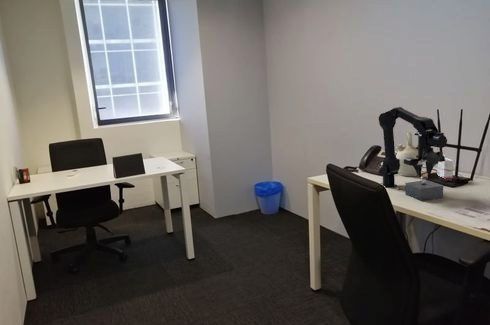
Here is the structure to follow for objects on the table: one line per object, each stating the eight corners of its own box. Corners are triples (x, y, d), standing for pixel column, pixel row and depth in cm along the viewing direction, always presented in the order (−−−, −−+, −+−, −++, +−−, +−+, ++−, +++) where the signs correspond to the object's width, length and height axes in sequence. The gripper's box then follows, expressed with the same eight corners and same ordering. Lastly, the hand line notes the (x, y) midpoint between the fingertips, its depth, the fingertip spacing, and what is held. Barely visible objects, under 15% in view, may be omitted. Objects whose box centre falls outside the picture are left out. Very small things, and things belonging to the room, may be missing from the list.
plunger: (409, 186, 194) (410, 171, 192) (425, 184, 195) (426, 169, 194) (421, 191, 185) (421, 175, 183) (438, 188, 187) (438, 173, 185)
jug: (392, 176, 232) (392, 134, 227) (399, 170, 244) (399, 130, 239) (420, 178, 223) (421, 134, 218) (425, 171, 235) (426, 130, 230)
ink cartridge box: (453, 181, 211) (454, 154, 209) (443, 182, 212) (444, 155, 209) (445, 177, 220) (446, 152, 217) (436, 178, 220) (437, 152, 217)
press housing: (405, 194, 196) (405, 182, 194) (426, 191, 198) (426, 179, 197) (420, 201, 184) (421, 188, 183) (443, 197, 186) (443, 185, 185)
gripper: (418, 149, 176) (417, 183, 180) (453, 145, 180) (452, 178, 183) (403, 146, 187) (402, 178, 190) (437, 142, 191) (436, 173, 194)
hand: (424, 177), depth 189 cm, fingers open, 4 cm apart
